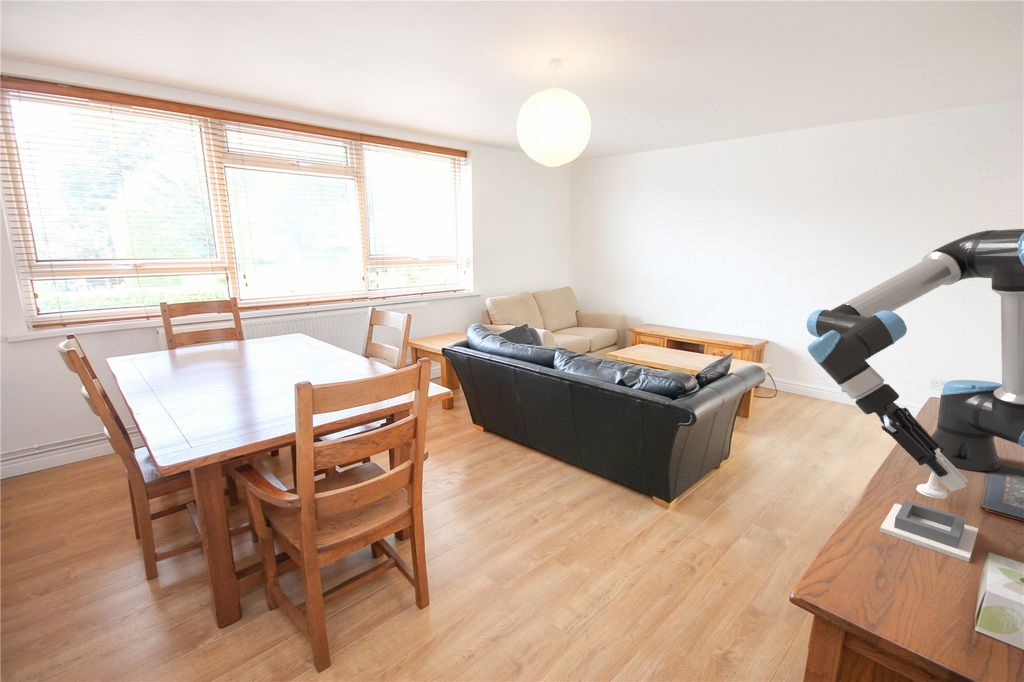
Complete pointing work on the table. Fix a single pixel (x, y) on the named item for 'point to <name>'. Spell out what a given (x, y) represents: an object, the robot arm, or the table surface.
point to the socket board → (931, 529)
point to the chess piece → (933, 484)
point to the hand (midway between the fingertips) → (959, 486)
